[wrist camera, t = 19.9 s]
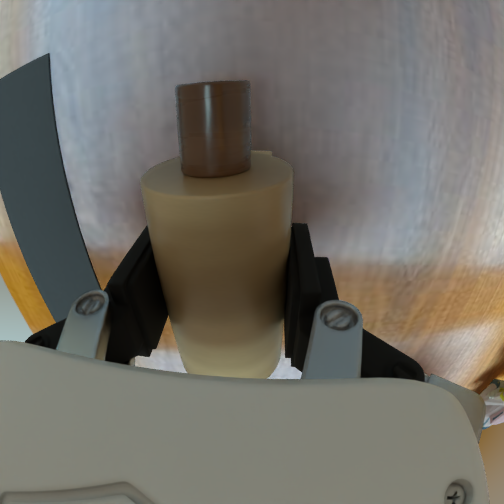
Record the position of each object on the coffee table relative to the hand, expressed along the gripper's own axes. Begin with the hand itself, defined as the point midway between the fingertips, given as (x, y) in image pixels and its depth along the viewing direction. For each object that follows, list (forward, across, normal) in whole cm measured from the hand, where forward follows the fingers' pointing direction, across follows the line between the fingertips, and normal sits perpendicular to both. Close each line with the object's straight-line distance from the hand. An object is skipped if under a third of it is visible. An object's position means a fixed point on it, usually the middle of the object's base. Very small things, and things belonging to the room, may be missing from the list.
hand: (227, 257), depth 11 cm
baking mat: (+2, +11, 0) cm, 12 cm away
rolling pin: (+1, 0, 0) cm, 1 cm away
